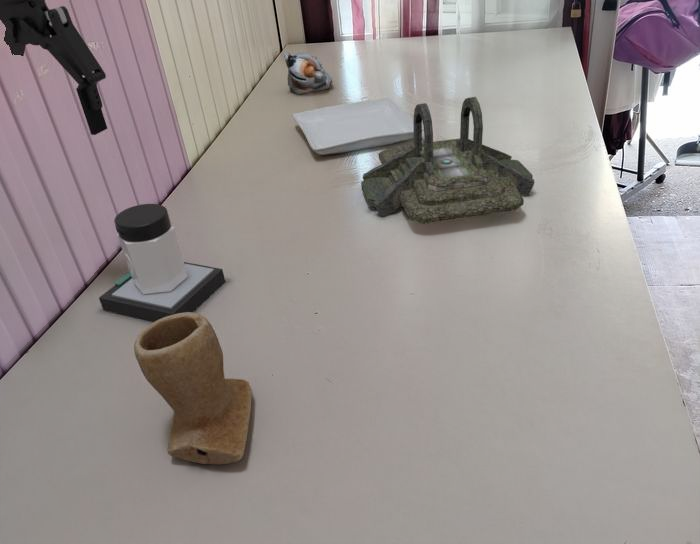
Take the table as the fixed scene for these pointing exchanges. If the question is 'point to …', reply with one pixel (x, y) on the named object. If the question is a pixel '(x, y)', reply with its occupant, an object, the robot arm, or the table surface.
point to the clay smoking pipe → (195, 389)
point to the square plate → (355, 126)
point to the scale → (163, 295)
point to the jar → (150, 248)
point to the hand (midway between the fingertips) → (65, 128)
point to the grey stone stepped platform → (446, 174)
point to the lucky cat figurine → (306, 73)
